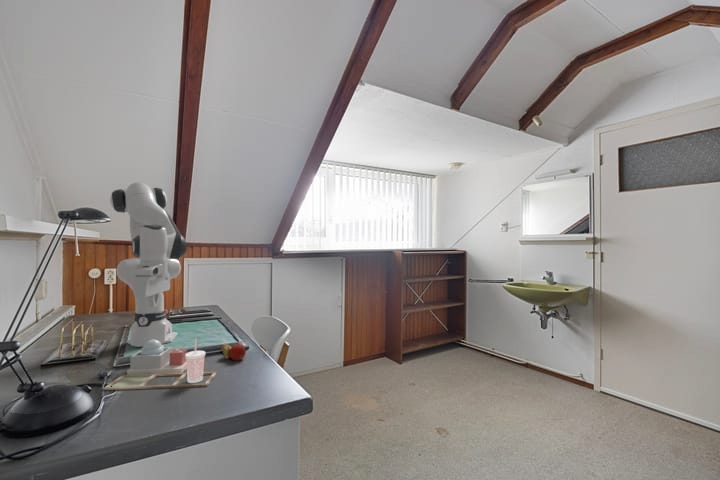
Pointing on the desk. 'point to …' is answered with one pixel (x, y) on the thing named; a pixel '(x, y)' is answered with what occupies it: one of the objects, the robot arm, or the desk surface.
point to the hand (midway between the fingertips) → (153, 306)
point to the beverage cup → (195, 365)
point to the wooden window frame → (142, 379)
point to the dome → (152, 348)
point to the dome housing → (158, 362)
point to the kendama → (233, 351)
